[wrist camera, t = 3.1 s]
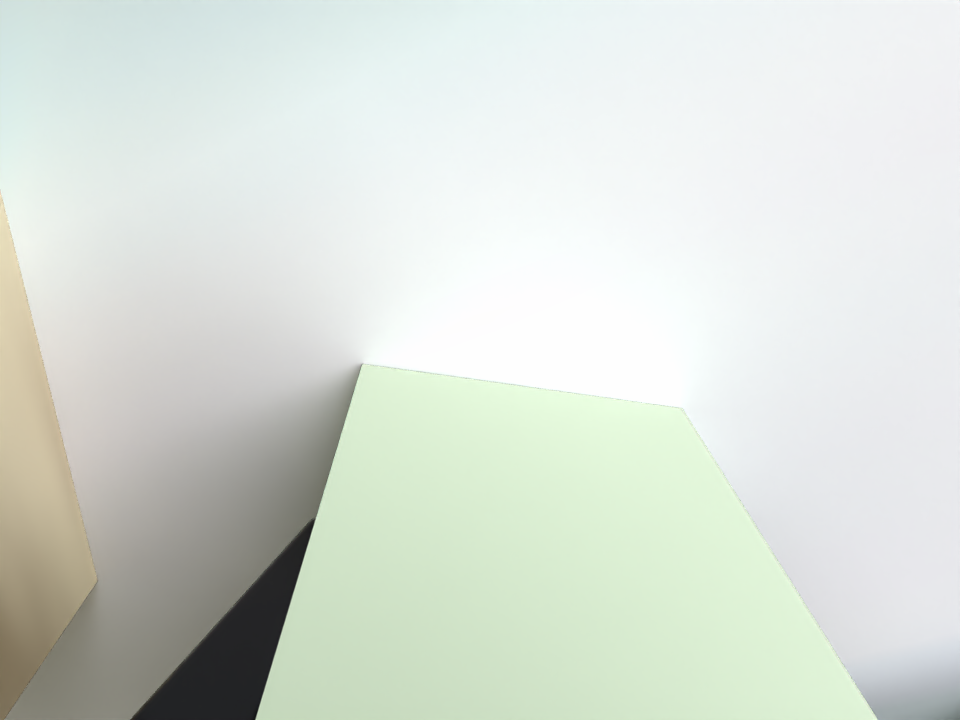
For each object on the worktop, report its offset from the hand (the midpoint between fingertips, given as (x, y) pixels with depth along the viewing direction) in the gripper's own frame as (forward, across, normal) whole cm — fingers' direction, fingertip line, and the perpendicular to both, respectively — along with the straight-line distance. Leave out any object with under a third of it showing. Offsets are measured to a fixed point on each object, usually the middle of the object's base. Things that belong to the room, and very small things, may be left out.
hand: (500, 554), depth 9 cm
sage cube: (+1, 0, 0) cm, 1 cm away
